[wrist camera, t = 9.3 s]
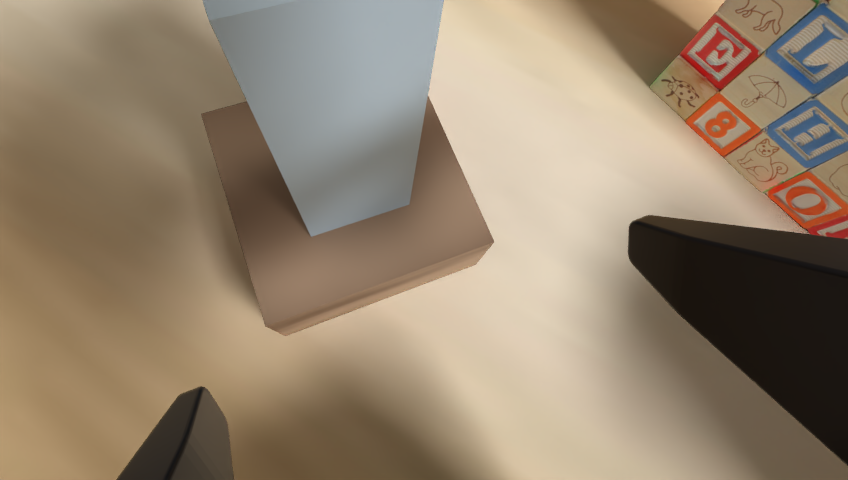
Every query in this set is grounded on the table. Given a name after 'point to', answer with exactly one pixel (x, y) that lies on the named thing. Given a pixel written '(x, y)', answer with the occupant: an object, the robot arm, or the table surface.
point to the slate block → (335, 95)
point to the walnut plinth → (342, 228)
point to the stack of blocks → (773, 101)
